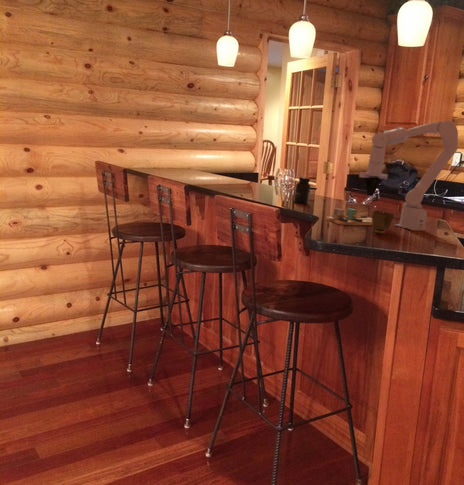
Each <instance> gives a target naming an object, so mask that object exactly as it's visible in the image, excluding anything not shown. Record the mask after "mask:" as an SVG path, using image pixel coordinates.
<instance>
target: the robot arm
mask: <svg viewBox="0 0 464 485" xmlns="http://www.w3.org/2000/svg"><path fill="white" fill-rule="evenodd" d="M425 134H434V135H437V134H439V135H440V137H441V140H442V143H443V149H442V150H441V151H440V153H439V154H438V155H437V157H436V158H435V159H434V161H433V162H432V163H431V165H430V166H429V168H428V169H427V170H426V172H424V174H423V176H422V177H421V178H420V179H419V181H418V182H417V184H416V185H415V187H414V188H412V189H410V190H409V191H408V192H407V193H406V195H405V198H404V200H405V202H404V203H403V205H402V208H401V209H402V210H401V216H400V221H399V223H396V224H394V226H396V227H399V228H403V229H406V228H407V229H406V230H409V229H410V231H424V230H423V229H425V228H426V223H427V218H428V211H427V210H426V209H423V205H421V203H422V201H423V198H424V195H425V194H426V192H427V191H428V189H429V188H430V187H431V185H433V183H434V181H435V180H436V179H437V177H438V176H439V175H440V173H441V172H442V171H443V169H444V168H445V167H446V165H447V164H448V163H449V161H451V159H452V157H453V156H454V155H455V154H456V152H457V150H458V147H459V146H458V144H459V142H458V141H459V139H458V138H459V130H458V127H457V125H456V123H455V122H454V121H452V120H444V121H436V122H429V123H426V124H422V125H418V126H415V127H411V128H408V129H407V128H405V127H401V126H396V127H395V128H394V129H390V130H387V129H385V130H383V132H382V131H381V132H379V131H378V132H377V133H375V134H374V135H373V137H372V138H371V143H372V144H371V145H372V146H371V150H370V154H369V160H368V164H367V171H365V172H363V171H362V172H361V171H360V172H359V175H358V178H364V179H363V180H364V183H365V186H366V193H367V194H366V195H367V196H370V197H373V196H374V195H375V192H376V190H377V189H378V187H379V186H380V184H381V183H382V181H383V180H387V179H388V176H389V174H386V173H383V172H382V171H383V168H384V167H383V166H384V162H385V156H386V148H387V145H388V146H392V145H396V144H400V143H401V144H402V143H404V142H406V141H407V140H408V138H412V137H415V136H420V135H425ZM382 179H383V180H382Z"/></svg>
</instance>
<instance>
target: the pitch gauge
mask: <svg viewBox="0 0 464 485" xmlns="http://www.w3.org/2000/svg"><path fill="white" fill-rule="evenodd" d="M333 210H334V211H333V215H331V216H325V217H324V220H325V221H328V222H332V223H335V224H338V225H340V226H373V225H372V217H369V216H368V215H359V216H360V218H357V217H356V218H355V220H350V219H346V218H348V216H346V215H344V213H345V209H342V208H340V207H339V208H338V207H337V208H334V209H333Z"/></svg>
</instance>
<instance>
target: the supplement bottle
mask: <svg viewBox="0 0 464 485" xmlns="http://www.w3.org/2000/svg"><path fill="white" fill-rule="evenodd" d="M298 178H299V179H298V181H299V182H297V183H296V184H295V189H294V196H293V202H294V203H295V204H299V205H308V203H309V199H310V193H311V192H310V191H311V188H312V187H311V184H310V180H311V179H310V178H309V177H303V176H299V177H298Z"/></svg>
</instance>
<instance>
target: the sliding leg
mask: <svg viewBox="0 0 464 485" xmlns="http://www.w3.org/2000/svg"><path fill="white" fill-rule="evenodd" d="M345 213H346V214H345V216H348V218H346V219H350V220H355V218H356V217H357V218H360V216H361V215H357V213H358V210H357V209H354V208H346V212H345Z"/></svg>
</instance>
